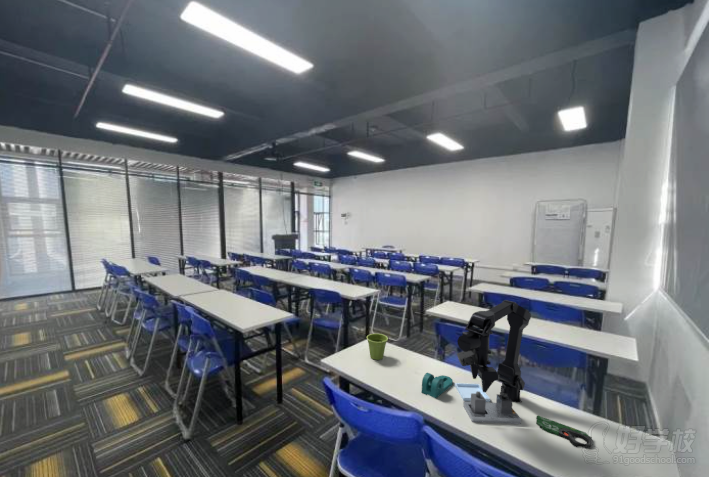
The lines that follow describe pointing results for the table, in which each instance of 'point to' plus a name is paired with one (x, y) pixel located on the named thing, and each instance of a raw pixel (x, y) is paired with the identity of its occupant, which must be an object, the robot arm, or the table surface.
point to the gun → (564, 432)
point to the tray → (470, 391)
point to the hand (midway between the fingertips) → (479, 385)
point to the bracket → (435, 385)
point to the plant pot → (377, 345)
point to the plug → (478, 403)
